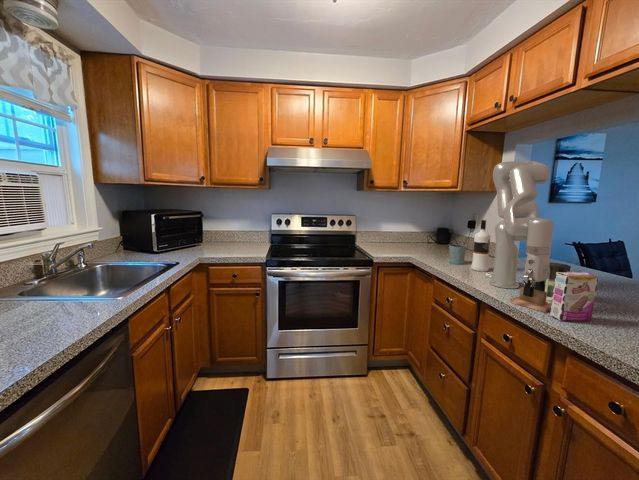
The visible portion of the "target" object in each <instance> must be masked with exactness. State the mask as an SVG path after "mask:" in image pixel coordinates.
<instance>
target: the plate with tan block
mask: <svg viewBox="0 0 639 480" xmlns="http://www.w3.org/2000/svg"><path fill="white" fill-rule="evenodd" d="M523 290H524V286H522V287H519V295H518V296H515V297H512V298H511V299H510V303H511V304H515V305H517V306H521V307H524V308H529V309H532V310H536V311H539V312H543V313H548V312H550V311H551V304H548V303H546V297H547V292H544V291H539V290H535V288H534V295H533V297H528V296H524V295H523Z"/></svg>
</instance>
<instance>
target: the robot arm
mask: <svg viewBox="0 0 639 480" xmlns="http://www.w3.org/2000/svg"><path fill="white" fill-rule="evenodd" d="M550 176H551V172H550V169H549V167H548V165H546V164H544V163H541V162H539V161H535V160H521V161H520V160H519V161H517V160H516V161H514V160H513V161H512V160H511V161H502V162H499V163H497V164H496V165H495V166H494V167H493V172H492V180H493V184H494V187H495V189H496V196H497V197H496V198H497V199H496V200H497V214H498V217H500V219H503V221H499V222H498V223H497V224H496V225H495V227H494V234H495V249H494V250H495V251H494V262H493V272H492V273H488V272H486V273H485V278H488V279H489V281H488V284H490V285H491V286H493V287H497V288H501V289H502V288H503V289H512V290H513V289H514V290H515V289H518V288H519V289H520V284H519V283H517V282H516V281H517V274H518V272H517V271H518V263H519V255H520V254H519V248H518V246H517V245H516V243H515V242H526V247H525V248H526V250H525V255H527V256H526V260H525V265H524V275H523V287H524V290H523V295H524V296H528V297H533V295H534V289H535V290H539V291H544V292H545V283H546V280H547V279H548V278H549V267H550V257H551V252H552V243H553V233H554V232H553V231H554V221H553V220H552V219H547V218H541V217H540V216H539V207H538V204H537V202H536V201H535V200H536V199H537V197H538V192H537V186H536V185H544V184H546V183H547V182H549V179H550Z"/></svg>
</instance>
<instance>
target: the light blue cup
mask: <svg viewBox="0 0 639 480" xmlns="http://www.w3.org/2000/svg"><path fill="white" fill-rule="evenodd" d="M448 246H449V247H448V248H449V250H448V251H449V259H448V260H449V261H448V262H449V264H450V265H456V266H457V265H458V266H463V265H464V264H465V255H466V252H467V251H466V250H467V245H464V244H456V243H453V244H449V245H448Z"/></svg>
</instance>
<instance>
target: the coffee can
mask: <svg viewBox="0 0 639 480" xmlns="http://www.w3.org/2000/svg"><path fill="white" fill-rule="evenodd" d="M571 268H572V266H571V265H569V264H564V263H561V262H560V263H559V262H552V261H551V262H550V267H549V278H548V279H547V280H546V283H545V292H547V297H548V298H552V297H553V290H554V283H555V277H556V272H571Z"/></svg>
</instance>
